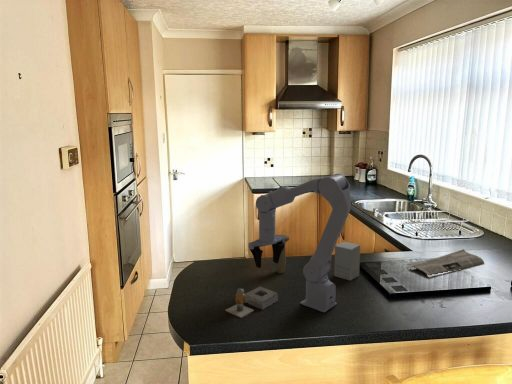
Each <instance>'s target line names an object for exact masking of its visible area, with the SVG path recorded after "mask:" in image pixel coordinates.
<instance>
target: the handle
mask: <svg viewBox="0 0 512 384" xmlns="http://www.w3.org/2000/svg"><path fill="white" fill-rule="evenodd" d="M278 236H283V237H285V242H284V243H283V244H285V245H286V242H288V241H289V240H290V236H289V235H285V234H275V237H278ZM286 259H287V257H286V246H285V247H284V249H283V250H282V252H281V255H280V258H279V262H278V263H275V265H276V272H277V273H278V274H284V273H285V271H286V265H287V264H286V263H287V260H286Z"/></svg>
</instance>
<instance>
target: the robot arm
mask: <svg viewBox="0 0 512 384" xmlns="http://www.w3.org/2000/svg"><path fill="white" fill-rule="evenodd" d="M350 189H351V185H350V183H349V181H348V179H347V177H345V175H343V174H342V173H334V174H332V175H326V176H321V177H316V178H314V179H311V180H309V181H306V182H303V183H302V184H299V185H297V186H294V187H290V186H288V185H287V186H285V185H281V186H279V187H278V189H276V190H270V191H267V193H266V194H261V195H259V196H258V197H257V198H256V200H255V207H256V208H257V210H258V239H256V240H252V241H251V242H248V249H249V251H250V253H251V255H252V257H253V260H254V263H255V267H256V268H258V269H260V268H261V267H262V257H263V252H264V250H262V249H261V248H262V247H266V246H271V248H272V261H273V263H275V264H276V263H278V262H279V258H280V255H281V252H282V250H283V249H284V247H285V248H286V242H285V237H283V236H278V237H275V235H276V212H277V208H280V207H284V206H285V205H288V204H292V203H293V202H295V201H294V200H295V199H296V197H300V196H302V195H305V194H308V193H311V192H314V193H315V194H320V195H321V196H322V197H323V198H324V199H325V200H326V201H327V202H328V203H329V204H330V207H331V209H332V210H331V212H330V215H329V216H328V220H327V222H326V225H325V227H324V230H323V232H322V234H321V237H320V239H319V241H318V245H317V246H316V250H315V251H314V253H313V254H312V256H311V257H310V259H309V261H308V262H307V263H306V264H305V265H304V267H303V268H302V274H303V276H304V278H305V299H304V300H301V302H299V304H301V305H302V306H305V307H308V308H311V309H312V310H315V311H316V310H317V311H319V312H321V313H326V312H328V311H329V310H330V309H332V308H333V307H335V306H336V305H337V304H338V303H337V302H336V296H337V295H336V294H337V286H336V284H335V283H334V282H332V281H331V280H330V279H329V275H328V273H329V272H330V271H331V269H332V259H333V256H332V254H333V251H335V246H336V245H337V243H338V240H339V238H340V235H341V234H342V233H341V232H342V230H343V228H344V226H345V223H346V221H347V219H348V216H349V214H350V212H351V209H352V200H351V193H350ZM284 242H285V244H283V243H284Z"/></svg>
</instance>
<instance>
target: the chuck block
mask: <svg viewBox="0 0 512 384" xmlns="http://www.w3.org/2000/svg"><path fill="white" fill-rule="evenodd" d="M244 293H245V292H244ZM278 299H279V293H278V292H276V291H273V290H271V289H269V288H265V287H263V286H258V287H256V288H254V289H252V290H250V291H248V292H246V293H245V303H246V304H247V303H248V304H247V305H250V306H253V307H255V308H257V309H260V310H265V309H266V308H268V307H270V306H272V305H273V303H274V304H275V303H277V302H278ZM245 303H244V304H245Z"/></svg>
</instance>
